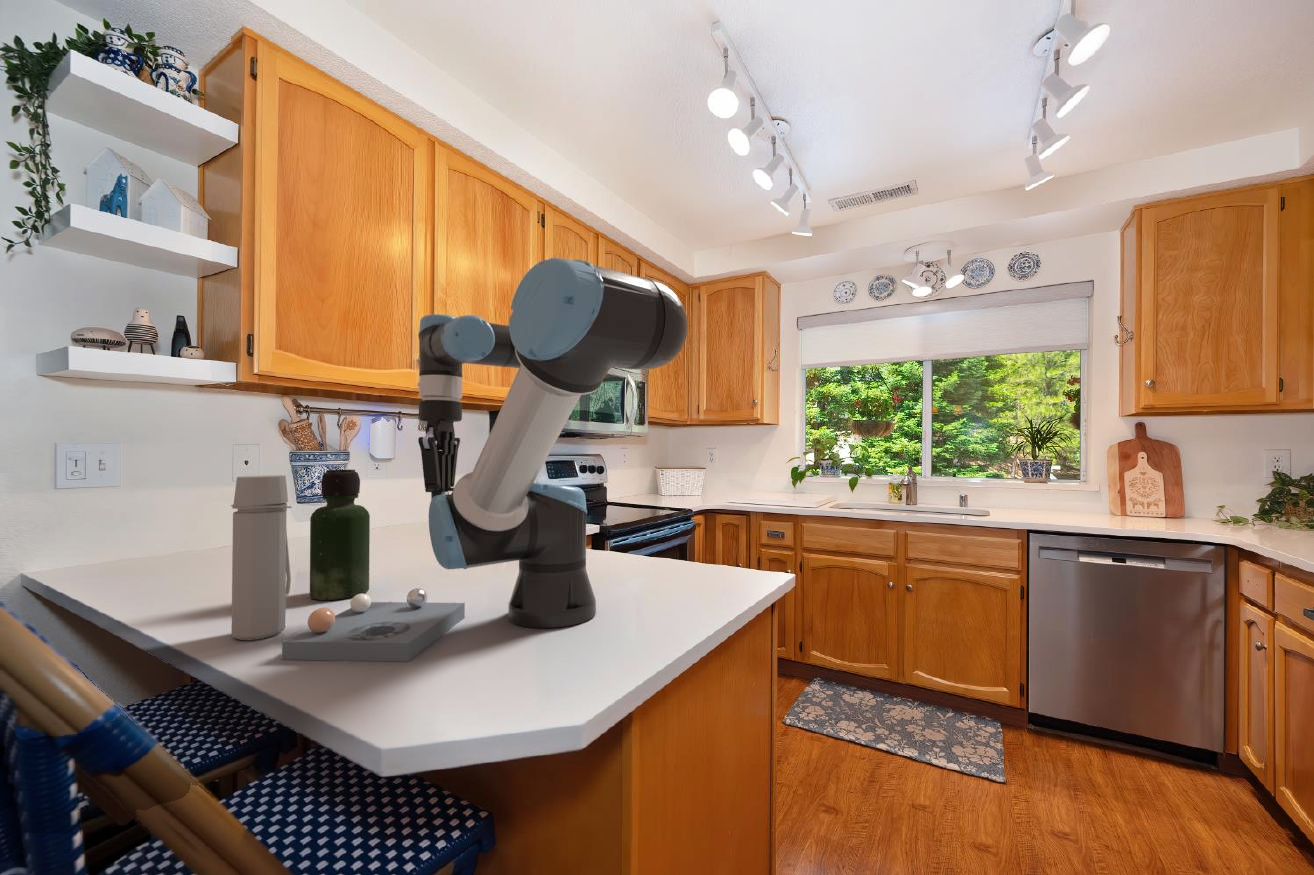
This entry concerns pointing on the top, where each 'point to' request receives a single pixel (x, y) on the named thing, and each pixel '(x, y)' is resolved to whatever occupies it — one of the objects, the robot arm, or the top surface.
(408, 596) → the steel ball
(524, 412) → the robot arm
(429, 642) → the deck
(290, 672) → the top surface
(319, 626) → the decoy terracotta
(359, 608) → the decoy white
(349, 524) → the green bottle
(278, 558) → the water bottle
